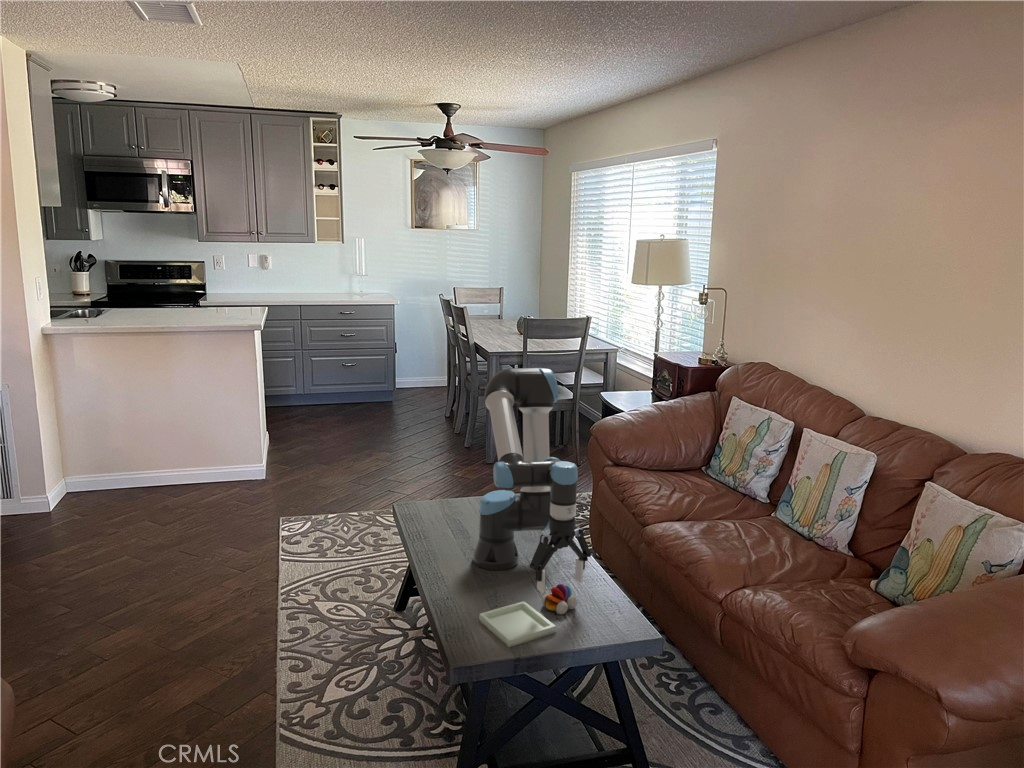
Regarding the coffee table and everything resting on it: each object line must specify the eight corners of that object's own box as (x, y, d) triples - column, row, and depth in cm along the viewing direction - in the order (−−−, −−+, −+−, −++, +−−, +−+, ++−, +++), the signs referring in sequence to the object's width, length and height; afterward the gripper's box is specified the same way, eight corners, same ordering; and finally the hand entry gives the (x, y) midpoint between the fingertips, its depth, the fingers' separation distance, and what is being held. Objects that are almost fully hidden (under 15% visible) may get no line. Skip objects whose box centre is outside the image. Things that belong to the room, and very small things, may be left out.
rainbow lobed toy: (537, 608, 213) (538, 585, 211) (559, 597, 219) (560, 575, 218) (558, 619, 207) (559, 595, 205) (580, 607, 213) (581, 584, 212)
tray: (479, 620, 204) (479, 613, 204) (523, 607, 212) (524, 601, 212) (509, 647, 191) (509, 640, 191) (555, 632, 199) (555, 625, 199)
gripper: (533, 528, 198) (531, 600, 201) (605, 512, 211) (601, 581, 215) (518, 519, 204) (517, 589, 208) (589, 505, 217) (586, 571, 221)
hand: (560, 585), depth 211 cm, fingers open, 13 cm apart
